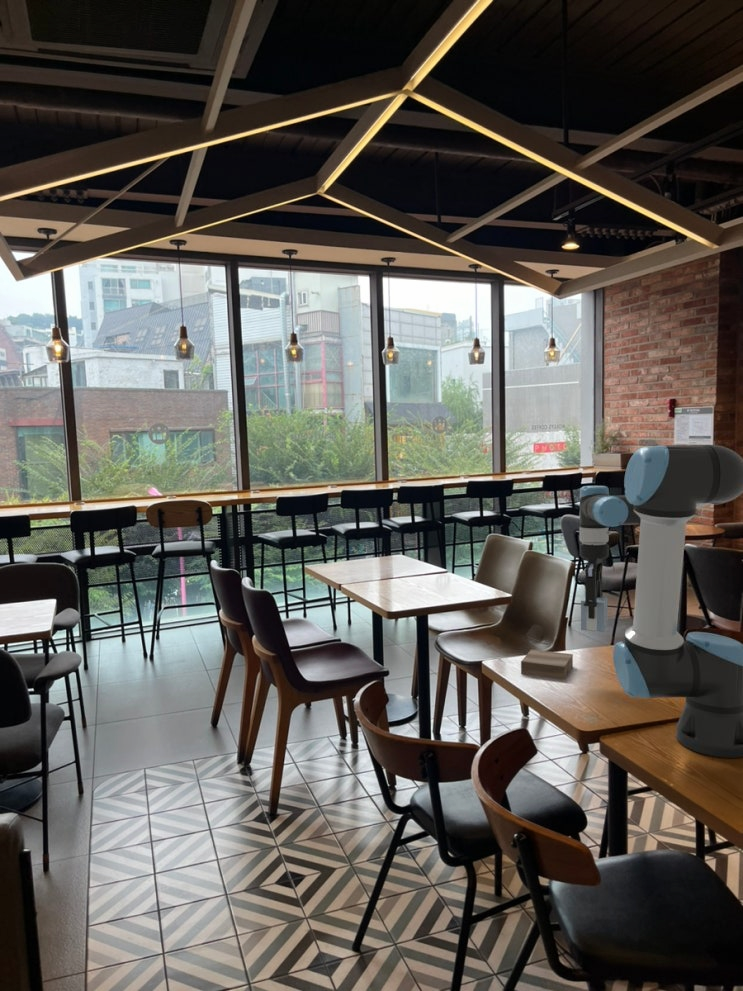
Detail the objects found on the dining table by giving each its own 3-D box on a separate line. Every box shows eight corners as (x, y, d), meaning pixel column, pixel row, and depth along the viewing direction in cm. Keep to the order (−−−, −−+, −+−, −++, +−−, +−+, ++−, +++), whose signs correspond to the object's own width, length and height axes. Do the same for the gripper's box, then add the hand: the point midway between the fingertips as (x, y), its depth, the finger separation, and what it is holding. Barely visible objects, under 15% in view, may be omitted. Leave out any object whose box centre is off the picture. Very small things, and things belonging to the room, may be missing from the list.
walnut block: (564, 681, 190) (564, 666, 189) (521, 675, 195) (521, 661, 195) (572, 667, 200) (572, 654, 200) (531, 662, 206) (531, 649, 205)
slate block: (604, 632, 185) (604, 602, 184) (581, 629, 187) (581, 600, 187) (607, 626, 190) (607, 597, 189) (584, 624, 193) (584, 596, 192)
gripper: (603, 548, 177) (603, 637, 178) (613, 539, 194) (613, 620, 195) (573, 546, 180) (573, 634, 182) (585, 537, 197) (585, 617, 199)
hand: (593, 626), depth 189 cm, fingers closed on slate block, 6 cm apart
